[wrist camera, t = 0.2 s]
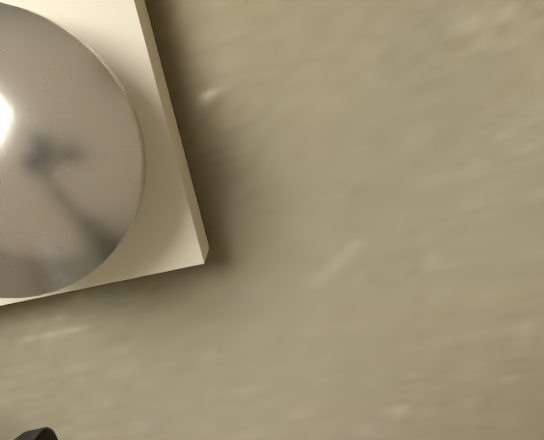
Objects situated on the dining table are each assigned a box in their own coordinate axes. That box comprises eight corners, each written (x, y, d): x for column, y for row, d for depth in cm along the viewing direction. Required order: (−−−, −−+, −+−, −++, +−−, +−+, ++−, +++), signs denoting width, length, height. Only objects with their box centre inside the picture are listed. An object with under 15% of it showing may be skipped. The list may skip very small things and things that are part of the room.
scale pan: (182, 250, 20) (174, 267, 18) (-61, 301, 20) (-92, 322, 18) (106, -24, 17) (88, -36, 15) (-173, 41, 18) (-221, 37, 16)
